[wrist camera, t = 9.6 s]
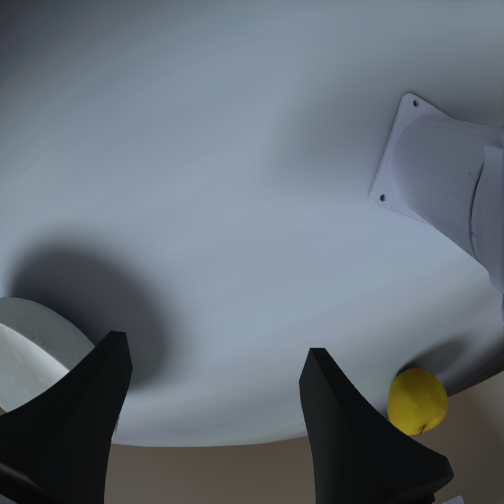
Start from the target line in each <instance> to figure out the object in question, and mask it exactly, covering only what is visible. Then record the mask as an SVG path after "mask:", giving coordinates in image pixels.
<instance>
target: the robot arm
mask: <svg viewBox="0 0 504 504" xmlns="http://www.w3.org/2000/svg"><path fill="white" fill-rule="evenodd" d="M414 100H415V101H416V103H417V105H416V107H415V106H414V104H413V101H414ZM383 194H384V198H383V200H380V196H381V195H383ZM369 198H370V200H371V201H373V202H374V203H377V204H380V205H382V206H385V207H388V208H390V209H393V210H395V211H398V212H400V213H403V214H405V215H408V216H410V217H413V218H415V219H418V220H420V221H423V222H425V223H427V224H430V225H432V226H433V227H435V228H436V229H437V230H439V231H440V232H441V233H443V234H444V235H445V236H446V237H448V238H449V239H450V240H452V241H453V242H454V243H455V244H457V245H458V246H459V247H460V248H462V249H463V250H464V251H465V252H467V253H468V254H469V255H470V256H472V257H473V258H474V259H475V260H476V261H478V262H479V263H480V264H481V265H483V266H484V267H485V268H486V269H487V270H488V272H489V275H490V283H491V284H492V285H493V286H494V287H495V288H496V289H498V290H499V291H500V292H501V293H502V294H503V299H502V306H501V310H502V319H503V323H504V126H503V127H502V128H497V127H493V126H488V125H483V124H478V123H473V122H467V121H462V120H455V119H452V118H451V117H449V116H448V115H446V114H445V113H443V112H442V111H440V110H438V109H437V108H435V107H434V106H432V105H430V104H429V103H427V102H425V101H424V100H422V99H420V98H419V97H417V96H415V95H414V94H412V93H405V94H403V96H402V99H401V102H400V105H399V108H398V112H397V115H396V118H395V121H394V124H393V127H392V130H391V133H390V136H389V139H388V142H387V145H386V148H385V150H384V153H383V156H382V159H381V162H380V164H379V167H378V170H377V173H376V175H375V178H374V181H373V183H372V186H371V188H370V191H369ZM132 368H133V367H132V363H131V358H130V353H129V348H128V342H127V337H126V333H124V332H118V331H111V332H109V333H108V334H107V335H106V336H105V337H104V338H103V339H102V340H101V341H100V342H99V343H98V344H97V346H96V347H95V348H94V349H93V350H92V351H91V352H90V353H89V354H88V355H86V356H85V357H84V358H83V359H82V360H81V361H80V362H79V363H78V364H77V365H76V366H75V367H74V368H73V369H72V370H70V371H69V372H68V373H67V374H66V375H65V376H64V377H63V378H61V379H60V380H59V381H58V382H56V383H55V384H54V385H53V386H51V387H50V388H48V389H47V390H46V391H44V392H43V393H41V394H40V395H38V396H37V397H35V398H33V399H32V400H30V401H29V402H27V403H25V404H23V405H22V406H20V407H18V408H16V409H14V410H12V411H10V412H7V413H5V414H3V415H1V416H0V504H104V490H105V479H106V471H107V463H108V457H109V450H110V446H111V441H112V437H113V433H114V430H115V427H116V424H117V421H118V418H119V415H120V412H121V409H122V406H123V403H124V400H125V397H126V394H127V391H128V387H129V383H130V378H131V373H132ZM299 387H300V398H301V405H302V410H303V414H304V419H305V423H306V428H307V432H308V436H309V441H310V445H311V450H312V456H313V466H314V477H315V491H316V504H432V502H434V501H435V498H434V495H433V494H434V493H435V492H437V491H438V490H439V489H441V488H442V487H443V486H445V485H446V484H448V483H449V482H450V481H451V480H452V479H453V477H454V473H453V471H452V468H451V466H450V463H449V461H448V459H447V457H445V456H443V455H441V454H439V453H437V452H435V451H433V450H431V449H429V448H427V447H425V446H423V445H422V444H420V443H418V442H417V441H415V440H413V439H412V438H410V437H409V436H407V435H406V434H405V433H403V432H402V431H401V430H399V429H398V428H397V427H395V426H394V425H393V424H391V423H390V422H389V421H388V420H387V419H385V418H384V417H383V416H382V415H381V414H380V413H379V412H378V411H377V410H376V409H375V408H374V407H373V406H372V405H371V404H370V403H369V402H368V401H367V400H366V399H365V398H364V397H363V396H362V395H361V394H360V392H359V391H358V390H357V389H356V388H355V387H354V385H353V384H352V383H351V382H350V380H349V379H348V378H347V377H346V375H345V374H344V373H343V372H342V370H341V369H340V368H339V366H338V365H337V364H336V362H335V361H334V360H333V358H332V357H331V356H330V354H329V353H328V352H327V350H326V349H325V348H310V350H309V353H308V356H307V359H306V362H305V365H304V368H303V371H302V374H301V377H300V380H299ZM442 504H464V503H463V500H462V497H461V496H458V497H456V498H454V499H452V500H449V501H447V502H445V503H442Z"/></svg>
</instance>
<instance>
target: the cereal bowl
mask: <svg viewBox="0 0 504 504" xmlns="http://www.w3.org/2000/svg"><path fill="white" fill-rule="evenodd" d="M95 347H96V346H95V345H94V344H93V343H92V342H91V341H90V340H89V339H88V338H87V337H86V335H84V334H83V333H82V332H81V330H79V329H78V328H77V327H75V326H74V325H73V324H72V323H71V322H70V321H68V320H66V319H65V318H64V317H62V316H61V315H59V314H58V313H56V312H54V311H53V310H51V309H50V308H47V307H45V306H43V305H41V304H39V303H36V302H34V301H31V300H27V299H23V298H18V297H15V298H13V297H3V298H0V406H1V407H2V408H3V409H4V410H5V411H6V412H10V411H12V410H14V409H16V408H18V407H20V406H22V405H23V404H25V403H27V402H29V401H30V400H32V399H33V398H35V397H37V396H38V395H40V394H41V393H43V392H44V391H46V390H47V389H48V388H50V387H51V386H53V385H54V384H55V383H56V382H58V381H59V380H60V379H61V378H63V377H64V376H65V375H66V374H67V373H68V372H69V371H70V370H72V369H73V368H74V367H75V366H76V365H77V364H78V363H79V362H80V361H81V360H82V359H83V358H84V357H85V356H86V355H88V354H89V353H90V352H91V351H92V350H93V349H94V348H95ZM118 420H119V418H118ZM117 427H118V421H117V424H116V427H115V430H114V433H113V437H112V439H113V438H114V436H115V434H116V430H117Z"/></svg>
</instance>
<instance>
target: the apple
mask: <svg viewBox="0 0 504 504" xmlns="http://www.w3.org/2000/svg"><path fill="white" fill-rule="evenodd" d="M447 408H448V399H447V395H446V392H445V389H444V387H443V386H442V384H441V383H440V382H439V381H438V379H436V378H435V377H434V376H433V375H431V374H430V373H428V372H427V371H425V370H423V369H421V368H416V367H412V368H409V369H407V370H405V371H404V372H402V373H400V374H398V375H397V377H396V378H395V379H394V380H393V382H392V384H391V387H390V389H389V397H388V415H389V418H390V421H391V423H392V424H393V425H394V426H395V427H397V428H398V429H399V430H401V431H402V432H403V433H405V434H406V435H415V434H419V435H421V433H422V432H424V431H427V430H429V429H431V428H433V427H435V426H436V425H438V424H439V423H440V422H441V421H442V419H443V418H444V417H445V415H446V412H447Z"/></svg>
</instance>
